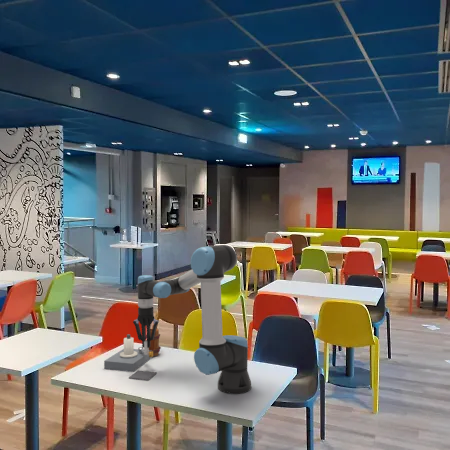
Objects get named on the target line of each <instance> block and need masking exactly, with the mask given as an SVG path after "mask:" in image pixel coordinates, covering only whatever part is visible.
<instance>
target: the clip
mask: <svg viewBox="0 0 450 450" xmlns="http://www.w3.org/2000/svg"><path fill="white" fill-rule="evenodd" d="M138 351H142V352H143V353H144V347H142V346H141V347H138ZM147 356H148V357H149V358H150V360H151V359H153V357H154V356H153V351H149V353H148V354H147Z"/></svg>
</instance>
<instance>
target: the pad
mask: <svg viewBox="0 0 450 450" xmlns="http://www.w3.org/2000/svg"><path fill="white" fill-rule="evenodd" d="M156 374H157V371H147V370H140V369H139V370H138V369H137V370H135V371H134V373H132V374H131V375H129V377H128V379H130V380H139V381H150V380H151V379H152V378H153V377H154V376H155V375H156Z"/></svg>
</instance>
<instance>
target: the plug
mask: <svg viewBox="0 0 450 450" xmlns="http://www.w3.org/2000/svg"><path fill="white" fill-rule="evenodd" d="M134 339H135V338H134V337H132V336H131V334H129V333H128V334H126V337H124V338H123V349H124V352H121V353H120V357H123V358H132V357H135V356H137V355H138V353H137V352H136V351H134V349H135V348H134V346H135V345H134V344H135V343H134Z"/></svg>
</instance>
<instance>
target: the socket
mask: <svg viewBox="0 0 450 450" xmlns="http://www.w3.org/2000/svg"><path fill="white" fill-rule="evenodd" d="M134 351H136V352H137V353H138V355H137V356H135V357H132V358H123V357H120V353H121V352H124V348H122V349H121V350H119V351H117V352H116V353H115V354H113V355H111V356H109V357H108V358H106V359H105V360H104V362H103V364H104V365H103V368H104V369H105V370H112V371H114V370H115V371H123V372H131V373H132V372H134V373H135V372H136V371H137V370H138V369H139V368H141V367H142V366H143V365H145V364H146V363H147V362H149V361H150V360H151V359H150V358H149V357H148V356H147V355H144V353H143V352H142V351H138V349H137V348H134ZM149 351H150V350H149Z"/></svg>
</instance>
